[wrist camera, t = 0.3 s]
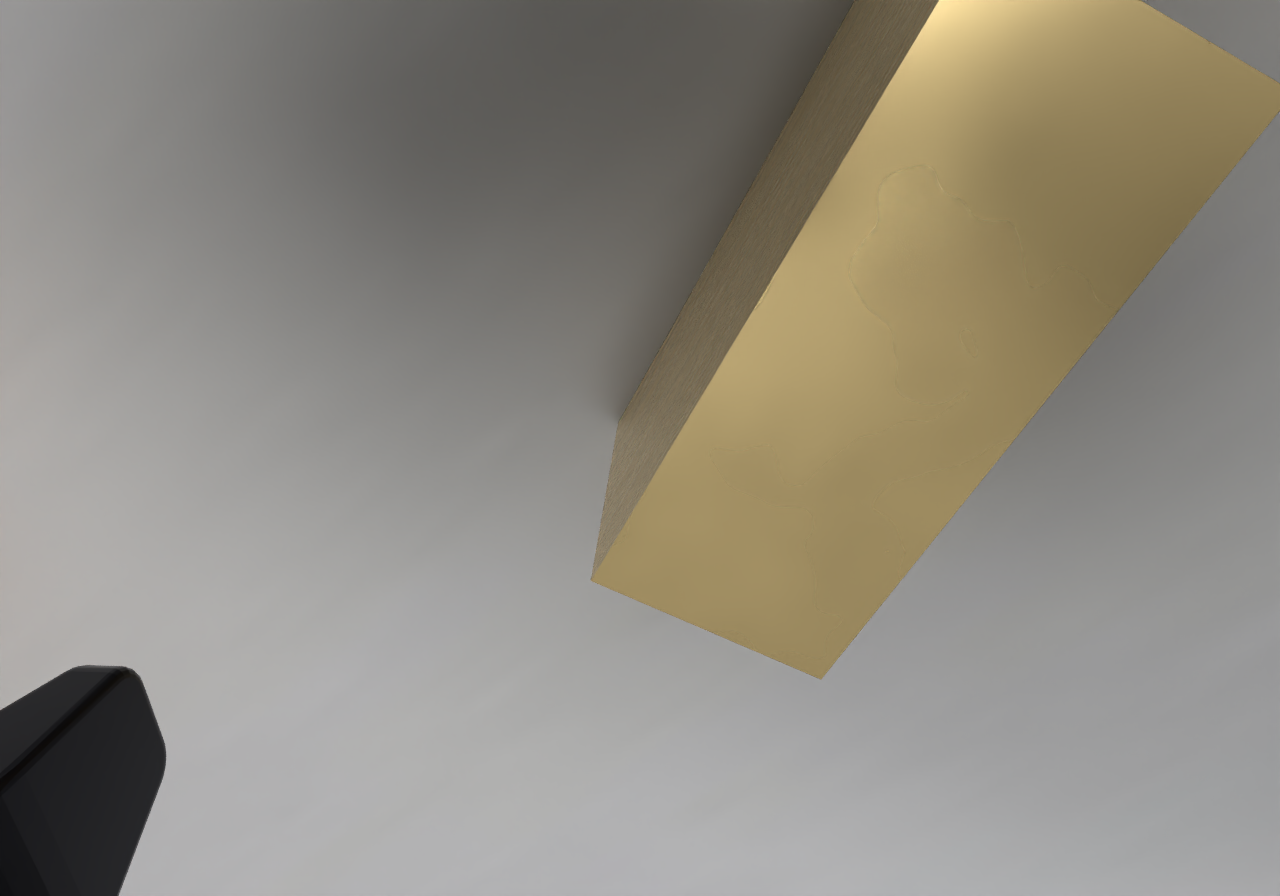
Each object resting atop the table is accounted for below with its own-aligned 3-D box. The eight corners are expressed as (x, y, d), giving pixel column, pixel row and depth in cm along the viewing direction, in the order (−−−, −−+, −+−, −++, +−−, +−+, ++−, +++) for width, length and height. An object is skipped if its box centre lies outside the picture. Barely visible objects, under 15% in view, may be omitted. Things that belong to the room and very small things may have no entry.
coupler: (914, -111, 15) (991, -89, 11) (1139, 21, 16) (1294, 92, 12) (618, 419, 20) (590, 580, 16) (800, 502, 21) (820, 679, 16)
